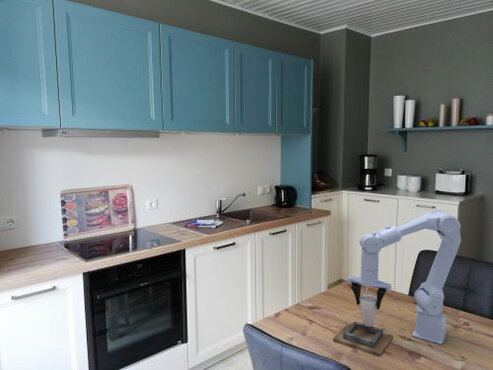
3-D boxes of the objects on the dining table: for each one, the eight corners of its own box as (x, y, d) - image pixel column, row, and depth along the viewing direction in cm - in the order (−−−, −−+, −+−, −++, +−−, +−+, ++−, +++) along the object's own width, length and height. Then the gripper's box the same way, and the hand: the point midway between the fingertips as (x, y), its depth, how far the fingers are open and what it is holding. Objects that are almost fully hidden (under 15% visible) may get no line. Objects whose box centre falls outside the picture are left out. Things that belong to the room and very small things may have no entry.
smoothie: (362, 317, 137) (362, 281, 135) (380, 322, 133) (380, 285, 131) (356, 325, 132) (356, 287, 130) (374, 330, 128) (374, 291, 126)
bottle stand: (392, 338, 129) (393, 329, 129) (380, 356, 118) (380, 347, 118) (348, 325, 139) (348, 317, 139) (333, 341, 128) (333, 332, 127)
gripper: (393, 269, 129) (392, 306, 131) (352, 262, 137) (351, 297, 138) (389, 275, 123) (387, 314, 125) (346, 267, 131) (345, 304, 132)
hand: (368, 306), depth 131 cm, fingers closed on smoothie, 6 cm apart
